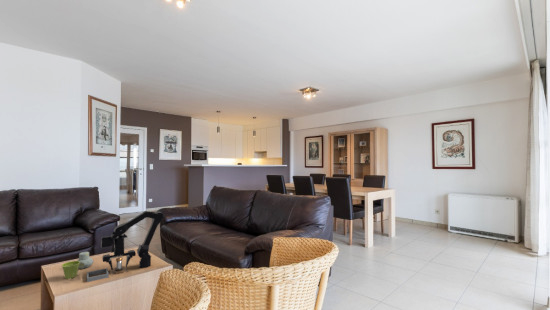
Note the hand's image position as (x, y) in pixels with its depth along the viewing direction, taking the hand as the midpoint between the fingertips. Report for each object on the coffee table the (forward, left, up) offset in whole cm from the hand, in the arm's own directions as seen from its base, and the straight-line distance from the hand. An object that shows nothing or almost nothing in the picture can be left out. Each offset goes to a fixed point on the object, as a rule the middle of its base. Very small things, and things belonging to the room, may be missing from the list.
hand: (119, 268), depth 179 cm
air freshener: (+19, -27, -3) cm, 33 cm away
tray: (+12, 0, -3) cm, 12 cm away
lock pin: (0, 0, -2) cm, 2 cm away
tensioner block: (0, -2, -3) cm, 4 cm away
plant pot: (+26, -12, -3) cm, 29 cm away
